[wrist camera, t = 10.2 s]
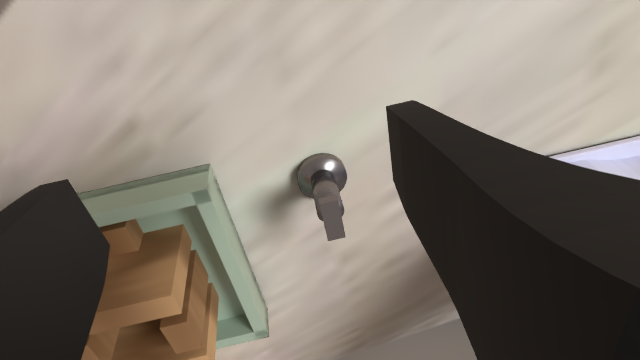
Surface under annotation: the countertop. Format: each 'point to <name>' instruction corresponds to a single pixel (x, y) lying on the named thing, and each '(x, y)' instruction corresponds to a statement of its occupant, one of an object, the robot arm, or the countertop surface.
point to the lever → (325, 190)
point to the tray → (193, 239)
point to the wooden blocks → (153, 298)
